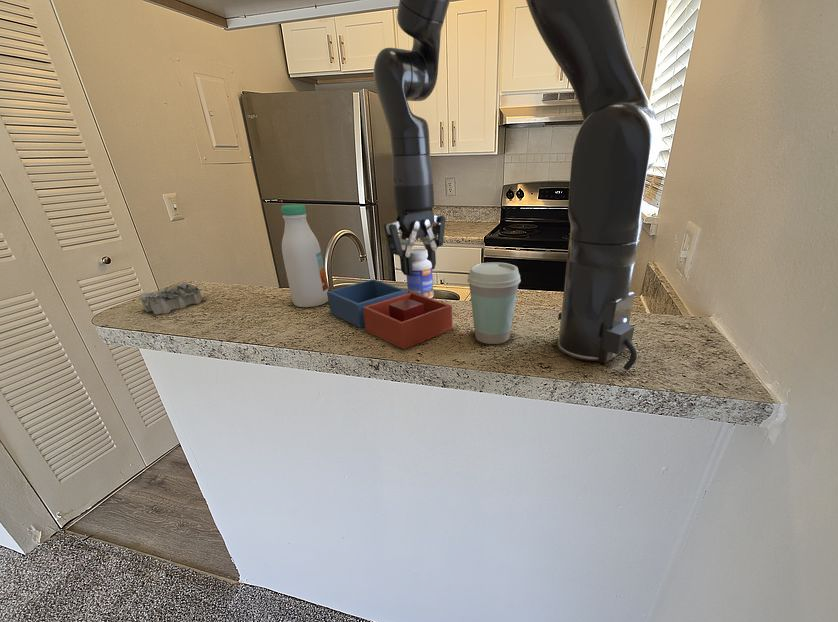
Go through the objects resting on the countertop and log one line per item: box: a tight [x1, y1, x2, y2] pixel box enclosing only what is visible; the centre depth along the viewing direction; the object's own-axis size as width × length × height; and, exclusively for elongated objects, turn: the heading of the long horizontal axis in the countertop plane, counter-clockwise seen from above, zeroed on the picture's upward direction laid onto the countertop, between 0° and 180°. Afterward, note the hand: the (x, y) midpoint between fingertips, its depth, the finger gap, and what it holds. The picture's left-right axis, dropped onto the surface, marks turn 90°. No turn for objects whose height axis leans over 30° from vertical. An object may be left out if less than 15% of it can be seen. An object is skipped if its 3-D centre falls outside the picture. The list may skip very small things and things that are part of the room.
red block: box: [389, 298, 424, 322], centre depth 72 cm, size 4×4×4 cm
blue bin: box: [327, 279, 407, 329], centre depth 81 cm, size 11×11×5 cm
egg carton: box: [138, 281, 203, 315], centre depth 88 cm, size 11×8×4 cm
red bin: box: [363, 292, 453, 350], centre depth 72 cm, size 11×11×5 cm
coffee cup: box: [466, 261, 522, 345], centre depth 67 cm, size 8×8×12 cm
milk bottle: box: [280, 203, 329, 308], centre depth 84 cm, size 8×8×20 cm
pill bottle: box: [405, 248, 435, 299], centre depth 83 cm, size 5×5×10 cm
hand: (419, 271), depth 83 cm, fingers closed on pill bottle, 5 cm apart
